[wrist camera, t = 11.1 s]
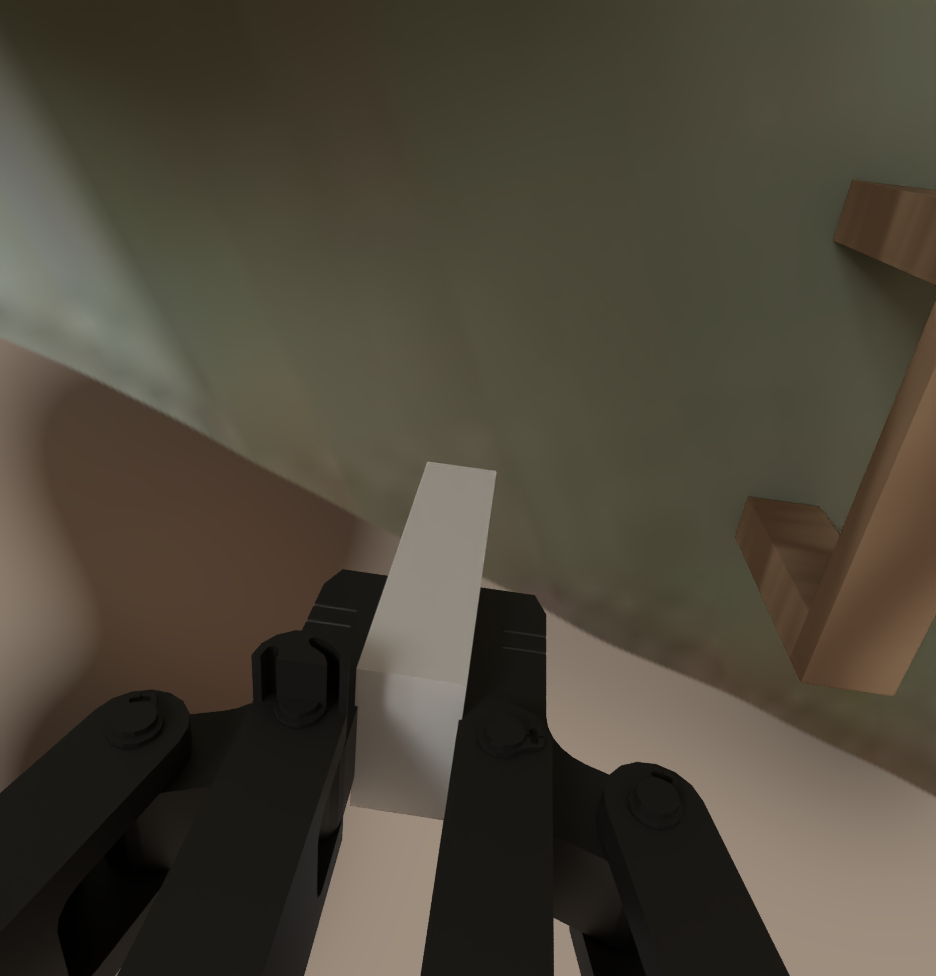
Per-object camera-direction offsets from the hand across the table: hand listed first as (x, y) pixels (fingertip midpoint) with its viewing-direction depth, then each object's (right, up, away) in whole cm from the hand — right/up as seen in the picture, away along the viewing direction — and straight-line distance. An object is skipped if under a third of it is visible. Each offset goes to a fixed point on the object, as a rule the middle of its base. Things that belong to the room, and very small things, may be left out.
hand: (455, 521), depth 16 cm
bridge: (+14, +5, +12) cm, 19 cm away
